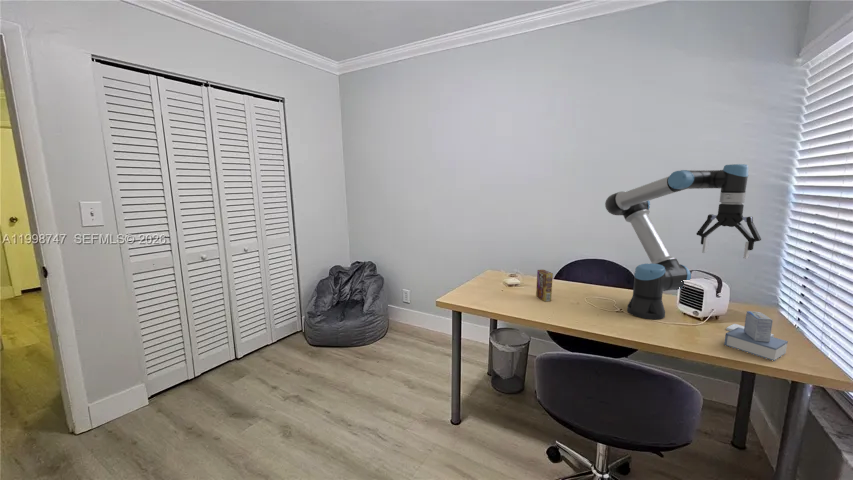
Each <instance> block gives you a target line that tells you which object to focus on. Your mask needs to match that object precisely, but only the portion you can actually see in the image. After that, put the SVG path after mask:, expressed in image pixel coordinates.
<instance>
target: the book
mask: <svg viewBox="0 0 853 480" xmlns="http://www.w3.org/2000/svg"><path fill="white" fill-rule="evenodd" d="M788 342H789V341H787V340H785V339H781V338H777V337H775V336H774V337H770V342H761V341H755V340H754V339H752V338H751V337H750V336H748V335H747V334H746V333H745V332H744V329H743V328H739V327H738V328H736V329H734V330H732V331H728V332H725V337H724V343H723V346H725V345H726V346H725V347H728V346H729V347H728V348H731V347H732V348H731V349H734V348H736V349H735V350H737V349H739V350H738V351H740V350H742V351H741V352H743V351H745V352H744V353H746V352H748V354H749V353H751V354H750V355H753V354H754V355H753V356H756V355H757V357H759V356H760V357H759V358H762V357H763V358H762V359H765V358H767V359H766V360H768V359H770V360H769V361H771V360H773V361H772V362H776V361H777V360H779V359H780V358H782V357H783V356H785V355H786V354H787V348H788ZM785 353H786V354H785ZM784 354H785V355H784ZM782 355H783V356H782ZM781 356H782V357H781ZM779 357H780V358H779ZM778 358H779V359H778ZM776 359H777V360H776Z"/></svg>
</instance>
